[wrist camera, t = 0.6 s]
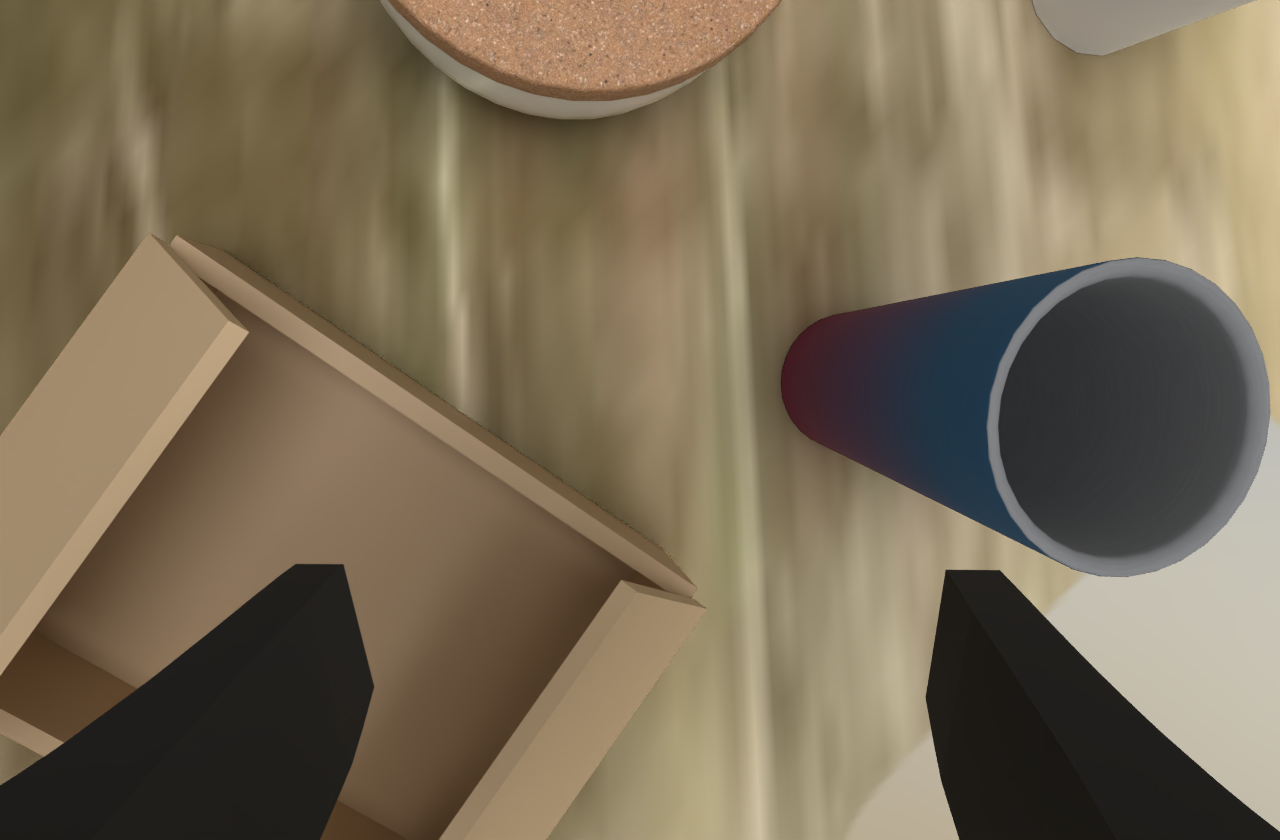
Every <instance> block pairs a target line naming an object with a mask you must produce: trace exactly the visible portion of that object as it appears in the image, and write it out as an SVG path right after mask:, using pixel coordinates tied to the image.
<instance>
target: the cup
mask: <svg viewBox="0 0 1280 840" xmlns="http://www.w3.org/2000/svg"><path fill="white" fill-rule="evenodd" d="M781 387H782V397H783V400H784V404H785V407H786V410H787V412H788V414H789V416H790V418H791V419H792V421H793V422H794V424H795V425H796V426H797V427H798V429H799V430H800V431H801V432H802V433H804V434H805V435H806V436H807V437H809V438H810V439H812V440H814V441H816V442H818V443H820V444H822V445H824V446H826V447H828V448H830V449H832V450H834V451H836V452H838V453H840V454H842V455H844V456H846V457H848V458H850V459H852V460H854V461H856V462H858V463H860V464H862V465H864V466H866V467H868V468H870V469H872V470H874V471H876V472H878V473H880V474H882V475H884V476H886V477H888V478H890V479H892V480H894V481H896V482H898V483H900V484H902V485H904V486H906V487H908V488H910V489H912V490H914V491H916V492H918V493H920V494H922V495H924V496H926V497H928V498H930V499H932V500H934V501H936V502H938V503H940V504H942V505H944V506H946V507H948V508H950V509H952V510H955V511H957V512H959V513H961V514H963V515H965V516H967V517H969V518H971V519H973V520H975V521H977V522H979V523H981V524H983V525H985V526H987V527H989V528H991V529H993V530H995V531H997V532H999V533H1001V534H1003V535H1005V536H1007V537H1009V538H1011V539H1013V540H1015V541H1017V542H1019V543H1021V544H1023V545H1025V546H1027V547H1029V548H1031V549H1033V550H1035V551H1037V552H1039V553H1041V554H1043V555H1045V556H1047V557H1049V558H1051V559H1053V560H1055V561H1057V562H1059V563H1061V564H1063V565H1065V566H1067V567H1069V568H1071V569H1073V570H1077V571H1081V572H1085V573H1089V574H1093V575H1097V576H1111V577H1112V576H1113V577H1129V576H1134V575H1140V574H1145V573H1150V572H1155V571H1158V570H1160V569H1162V568H1165V567H1167V566H1170V565H1172V564H1174V563H1177V562H1179V561H1181V560H1183V559H1184V558H1186V557H1187V556H1189V555H1190V554H1192V553H1193V552H1195V551H1196V550H1198V549H1199V548H1201V547H1202V546H1204V545H1205V544H1206V543H1207V542H1208V541H1209V540H1211V539H1212V538H1213V536H1215V535H1216V534H1217V533H1218V532H1219V531H1220V530H1221V529H1222V528H1223V527H1224V526H1225V525H1226V524H1227V523H1228V521H1229V520H1230V518H1231V517H1232V515H1233V514H1234V513H1235V511H1236V510H1237V509H1238V507H1239V506H1240V505H1241V503H1242V502H1243V501H1244V499H1245V497H1246V495H1247V493H1248V491H1249V489H1250V487H1251V485H1252V483H1253V481H1254V479H1255V476H1256V475H1257V472H1258V469H1259V466H1260V463H1261V459H1262V456H1263V453H1264V450H1265V446H1266V442H1267V434H1268V427H1269V419H1270V394H1269V381H1268V376H1267V371H1266V367H1265V362H1264V357H1263V354H1262V351H1261V349H1260V346H1259V344H1258V342H1257V339H1256V337H1255V334H1254V332H1253V330H1252V327H1251V326H1250V324H1249V323H1248V321H1247V320H1246V318H1245V317H1244V315H1243V314H1242V312H1241V311H1240V309H1239V308H1238V307H1237V305H1236V304H1235V303H1234V302H1233V301H1232V300H1231V299H1230V298H1229V297H1228V296H1227V295H1226V294H1225V293H1224V292H1223V291H1222V290H1221V289H1220V288H1219V287H1218V286H1217V285H1216V284H1215V283H1213V282H1211V281H1210V280H1208V279H1206V278H1205V277H1203V276H1202V275H1200V274H1198V273H1197V272H1195V271H1194V270H1192V269H1189V268H1186V267H1183V266H1180V265H1178V264H1175V263H1172V262H1169V261H1166V260H1158V259H1148V258H1138V257H1136V258H1128V259H1120V260H1112V261H1106V262H1101V263H1096V264H1091V265H1086V266H1081V267H1075V268H1070V269H1065V270H1060V271H1055V272H1050V273H1045V274H1040V275H1035V276H1030V277H1025V278H1020V279H1015V280H1010V281H1004V282H999V283H994V284H989V285H984V286H979V287H974V288H969V289H964V290H959V291H954V292H949V293H944V294H939V295H934V296H928V297H923V298H918V299H913V300H908V301H903V302H898V303H893V304H888V305H883V306H878V307H873V308H868V309H863V310H857V311H852V312H847V313H842V314H837V315H832V316H829V317H827V318H824V319H821V320H819V321H817V322H816V323H814V324H812V325H811V326H809V327H808V328H807V329H806V330H805V331H804V332H803V333H801V334H800V335H799V337H798V338H797V339H796V341H795V342H794V343H793V345H792V346H791V348H790V350H789V352H788V354H787V356H786V359H785V363H784V366H783V370H782V380H781Z"/></svg>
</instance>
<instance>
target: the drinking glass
mask: <svg viewBox="0 0 1280 840" xmlns="http://www.w3.org/2000/svg"><path fill="white" fill-rule="evenodd" d="M1032 1H1033V5H1034V9H1035V12H1036V15H1037V16H1038V18H1039V19H1040V20H1041V22H1042V23H1043V25H1044V26H1045V27H1046V29H1047V30H1048V31H1049V33H1050V34H1051V36H1052V37H1053V38H1054V39H1055V40H1057V41H1059V42H1060V43H1062V44H1063V45H1065V46H1067V47H1068V48H1070V49H1072V50H1073V51H1075V52H1076V53H1083V54H1092V55H1101V56H1104V55H1107V54H1110V53H1113V52H1116V51H1118V50H1121V49H1124V48H1127V47H1129V46H1132V45H1134V44H1137V43H1140V42H1143V41H1145V40H1148V39H1151V38H1154V37H1156V36H1159V35H1162V34H1165V33H1167V32H1170V31H1173V30H1176V29H1178V28H1181V27H1184V26H1187V25H1189V24H1192V23H1195V22H1198V21H1200V20H1203V19H1206V18H1209V17H1211V16H1214V15H1217V14H1220V13H1222V12H1225V11H1228V10H1231V9H1233V8H1236V7H1239V6H1242V5H1244V4H1247V3H1250V2H1253V1H1255V0H1032Z"/></svg>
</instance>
